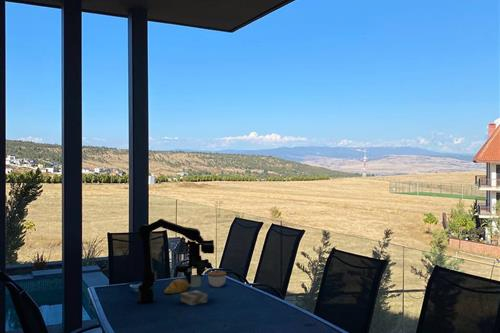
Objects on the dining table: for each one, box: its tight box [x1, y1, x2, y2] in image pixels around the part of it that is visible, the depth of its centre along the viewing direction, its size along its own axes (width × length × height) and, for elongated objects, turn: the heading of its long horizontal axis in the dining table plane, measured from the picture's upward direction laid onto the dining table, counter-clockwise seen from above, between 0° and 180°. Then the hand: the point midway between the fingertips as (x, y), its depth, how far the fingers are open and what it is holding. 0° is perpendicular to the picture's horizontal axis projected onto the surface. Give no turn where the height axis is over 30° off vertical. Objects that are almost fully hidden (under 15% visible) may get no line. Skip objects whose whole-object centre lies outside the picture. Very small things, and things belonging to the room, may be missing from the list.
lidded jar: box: [207, 269, 227, 288], centre depth 274 cm, size 11×11×9 cm
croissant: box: [163, 278, 191, 295], centre depth 262 cm, size 21×10×8 cm, turn 148°
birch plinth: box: [180, 290, 208, 306], centre depth 241 cm, size 10×10×4 cm
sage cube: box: [186, 273, 202, 288], centre depth 241 cm, size 5×5×5 cm
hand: (193, 283), depth 241 cm, fingers closed on sage cube, 5 cm apart
